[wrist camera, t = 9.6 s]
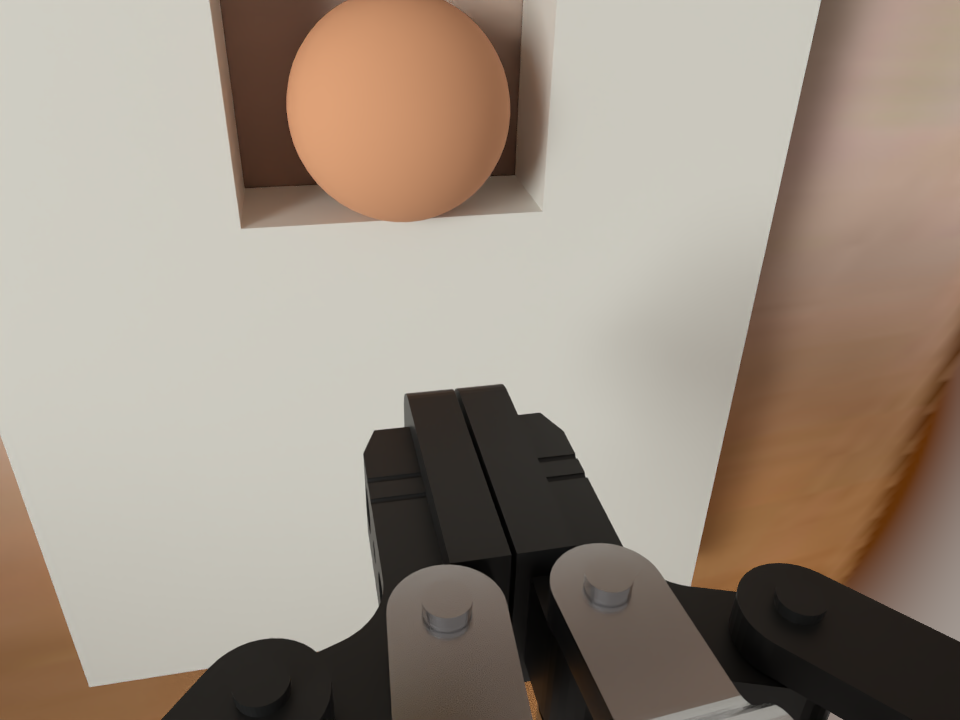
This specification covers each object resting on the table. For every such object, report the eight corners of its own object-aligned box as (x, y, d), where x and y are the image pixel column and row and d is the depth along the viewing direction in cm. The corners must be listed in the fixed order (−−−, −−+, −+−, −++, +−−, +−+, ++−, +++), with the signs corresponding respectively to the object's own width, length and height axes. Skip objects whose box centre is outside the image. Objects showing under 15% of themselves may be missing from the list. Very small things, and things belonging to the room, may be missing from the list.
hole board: (658, 538, 28) (688, 592, 26) (104, 617, 25) (89, 686, 23) (829, -381, 16) (914, -418, 14) (-242, -482, 12) (-347, -551, 10)
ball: (431, -106, 15) (425, 15, 19) (217, 24, 14) (262, 117, 19) (574, 100, 15) (534, 173, 19) (365, 239, 14) (375, 279, 19)
